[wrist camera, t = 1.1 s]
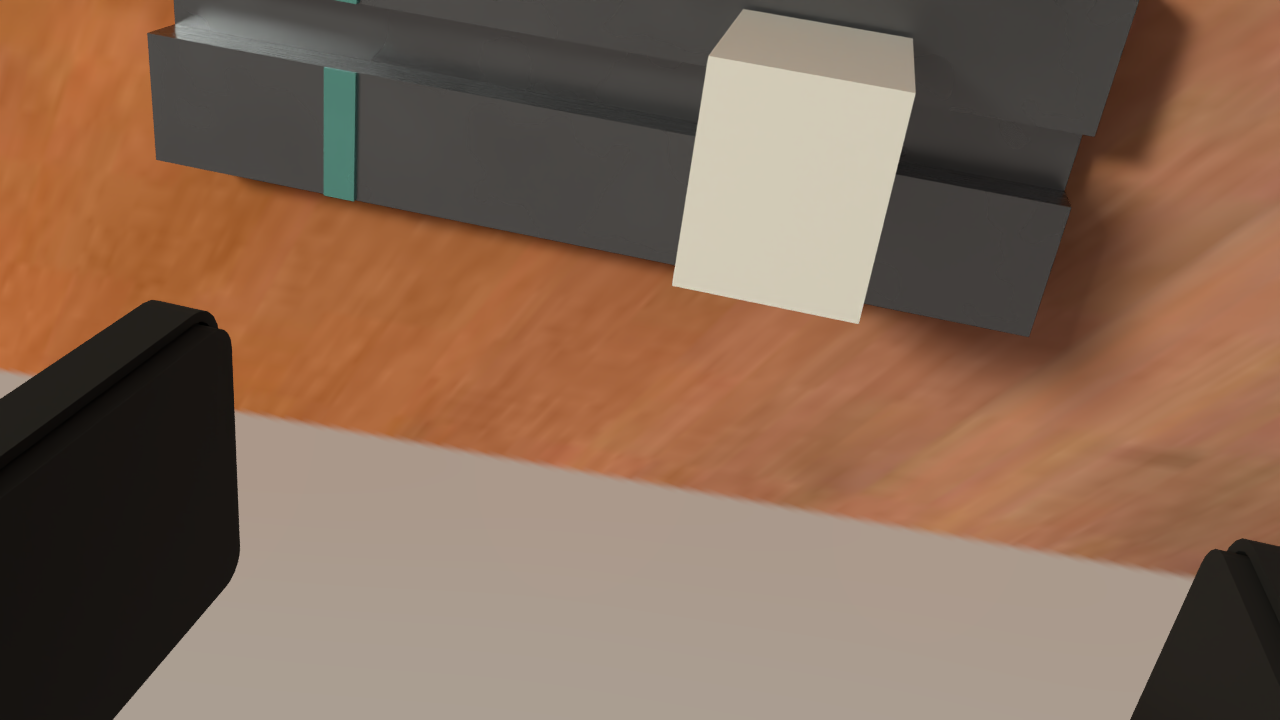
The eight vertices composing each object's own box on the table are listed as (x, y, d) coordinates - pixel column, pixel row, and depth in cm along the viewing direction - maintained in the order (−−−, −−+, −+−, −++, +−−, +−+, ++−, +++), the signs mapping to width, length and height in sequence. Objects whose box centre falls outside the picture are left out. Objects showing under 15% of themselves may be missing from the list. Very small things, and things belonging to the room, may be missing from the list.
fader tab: (912, 28, 25) (915, 93, 19) (867, 216, 27) (858, 324, 21) (750, -1, 25) (708, 55, 20) (717, 188, 27) (671, 285, 22)
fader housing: (1129, -31, 24) (1146, -19, 22) (1021, 306, 28) (1029, 339, 26) (177, -186, 27) (129, -186, 25) (194, 141, 30) (154, 161, 29)
